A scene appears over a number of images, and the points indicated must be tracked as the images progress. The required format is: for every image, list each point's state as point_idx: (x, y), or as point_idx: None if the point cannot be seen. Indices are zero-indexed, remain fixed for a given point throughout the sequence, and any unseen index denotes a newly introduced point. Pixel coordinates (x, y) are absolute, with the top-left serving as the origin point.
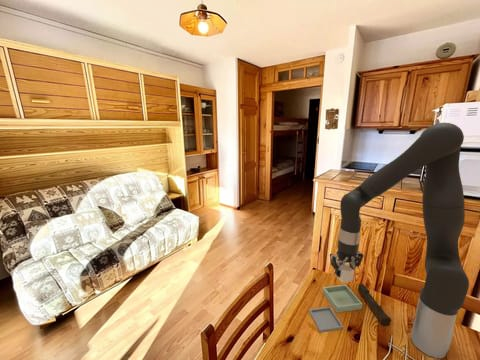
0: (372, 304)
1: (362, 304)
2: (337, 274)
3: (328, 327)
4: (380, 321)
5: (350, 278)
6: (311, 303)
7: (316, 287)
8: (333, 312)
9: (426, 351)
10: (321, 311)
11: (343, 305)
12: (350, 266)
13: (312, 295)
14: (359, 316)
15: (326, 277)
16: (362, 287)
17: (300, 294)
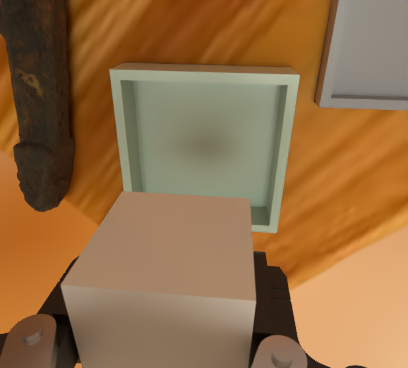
0: (46, 53)
1: (112, 68)
2: (278, 283)
3: None
4: None
5: (143, 213)
6: (388, 160)
7: (281, 246)
8: (331, 59)
9: None
10: (382, 92)
11: (247, 81)
12: (73, 351)
13: (341, 206)
14: (167, 19)
15: None
16: (43, 180)
17: (402, 224)
